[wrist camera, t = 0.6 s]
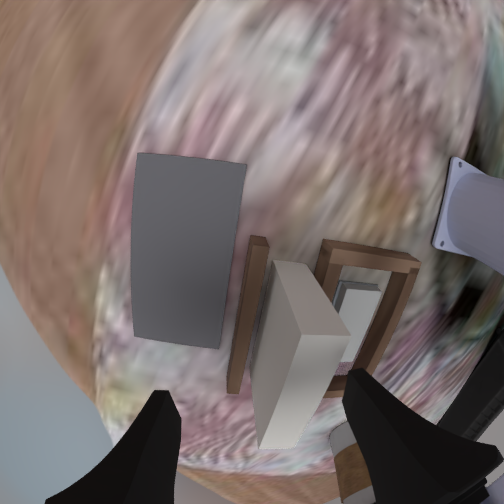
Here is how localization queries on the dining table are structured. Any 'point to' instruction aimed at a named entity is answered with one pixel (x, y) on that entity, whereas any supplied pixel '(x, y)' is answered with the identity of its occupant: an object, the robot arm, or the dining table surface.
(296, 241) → the dining table surface
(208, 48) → the dining table surface
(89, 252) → the dining table surface
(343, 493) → the coffee cup
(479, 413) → the magazine
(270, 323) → the white rectangular block
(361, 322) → the offcut upper
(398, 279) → the brown wooden frame
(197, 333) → the mat
